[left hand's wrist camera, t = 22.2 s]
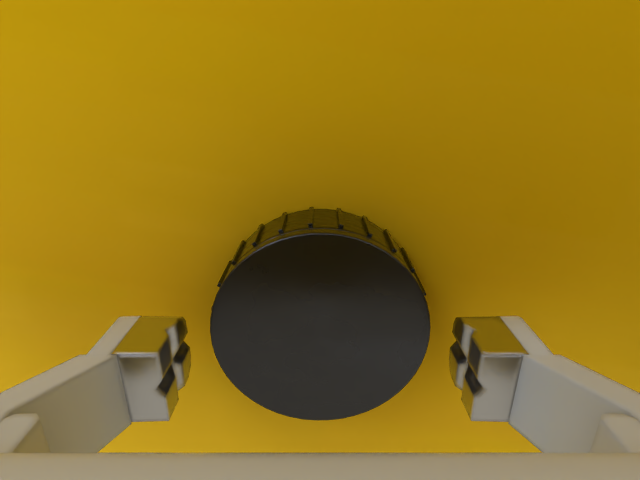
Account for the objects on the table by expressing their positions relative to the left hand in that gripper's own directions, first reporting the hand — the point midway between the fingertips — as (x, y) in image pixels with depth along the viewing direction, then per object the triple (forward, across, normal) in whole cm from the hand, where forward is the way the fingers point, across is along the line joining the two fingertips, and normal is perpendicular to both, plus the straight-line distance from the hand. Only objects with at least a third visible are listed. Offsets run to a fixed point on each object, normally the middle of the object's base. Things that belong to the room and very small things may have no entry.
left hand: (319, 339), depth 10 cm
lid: (+1, 0, 0) cm, 1 cm away
